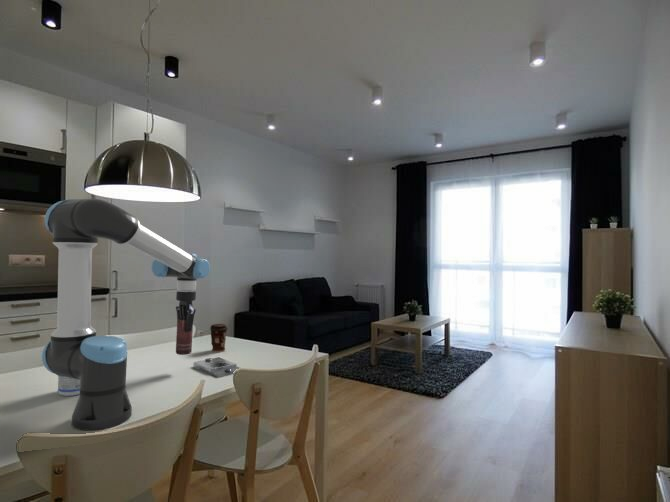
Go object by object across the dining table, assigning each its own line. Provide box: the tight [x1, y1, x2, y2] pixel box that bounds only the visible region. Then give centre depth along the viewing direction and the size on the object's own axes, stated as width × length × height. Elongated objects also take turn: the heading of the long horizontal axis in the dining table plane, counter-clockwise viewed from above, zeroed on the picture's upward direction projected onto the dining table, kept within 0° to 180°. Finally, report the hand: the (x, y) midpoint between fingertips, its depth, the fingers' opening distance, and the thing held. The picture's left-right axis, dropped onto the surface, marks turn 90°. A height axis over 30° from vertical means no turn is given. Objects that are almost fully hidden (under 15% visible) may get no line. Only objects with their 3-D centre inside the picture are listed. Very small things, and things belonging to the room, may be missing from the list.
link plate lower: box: [199, 363, 241, 379], centre depth 164 cm, size 12×14×2 cm
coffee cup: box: [209, 323, 228, 353], centre depth 197 cm, size 9×8×13 cm
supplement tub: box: [57, 375, 80, 397], centre depth 136 cm, size 10×10×15 cm
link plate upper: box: [193, 356, 237, 372], centre depth 168 cm, size 12×14×3 cm
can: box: [175, 319, 194, 356], centre depth 161 cm, size 6×6×14 cm
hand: (183, 348), depth 161 cm, fingers closed
